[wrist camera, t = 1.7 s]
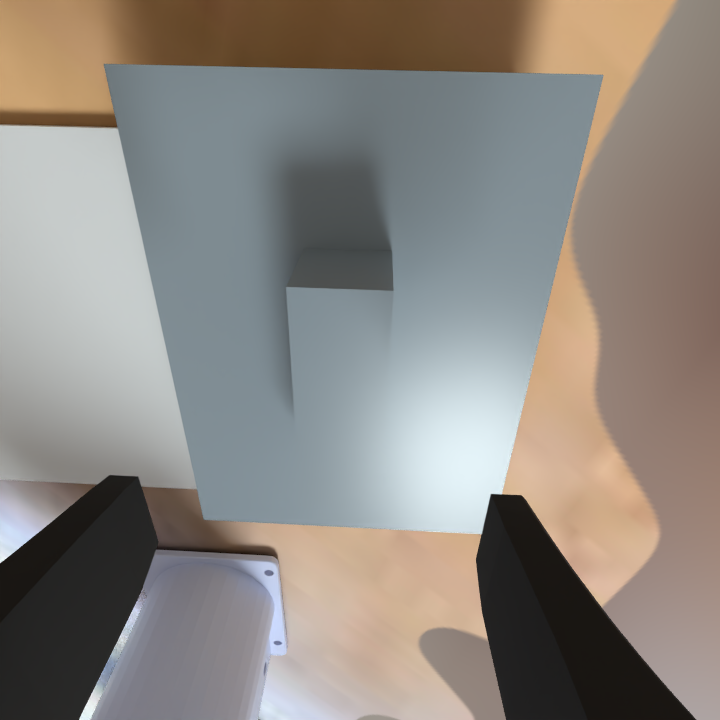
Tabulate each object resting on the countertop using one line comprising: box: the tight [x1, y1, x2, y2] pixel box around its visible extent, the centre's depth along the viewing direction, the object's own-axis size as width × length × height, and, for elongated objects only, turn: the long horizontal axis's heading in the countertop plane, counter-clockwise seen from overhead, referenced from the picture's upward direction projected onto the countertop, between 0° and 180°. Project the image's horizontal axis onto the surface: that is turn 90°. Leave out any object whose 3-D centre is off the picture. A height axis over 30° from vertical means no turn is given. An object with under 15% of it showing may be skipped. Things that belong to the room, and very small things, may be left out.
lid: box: [104, 64, 603, 534], centre depth 14 cm, size 15×11×4 cm
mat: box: [0, 124, 197, 489], centre depth 20 cm, size 16×12×1 cm
